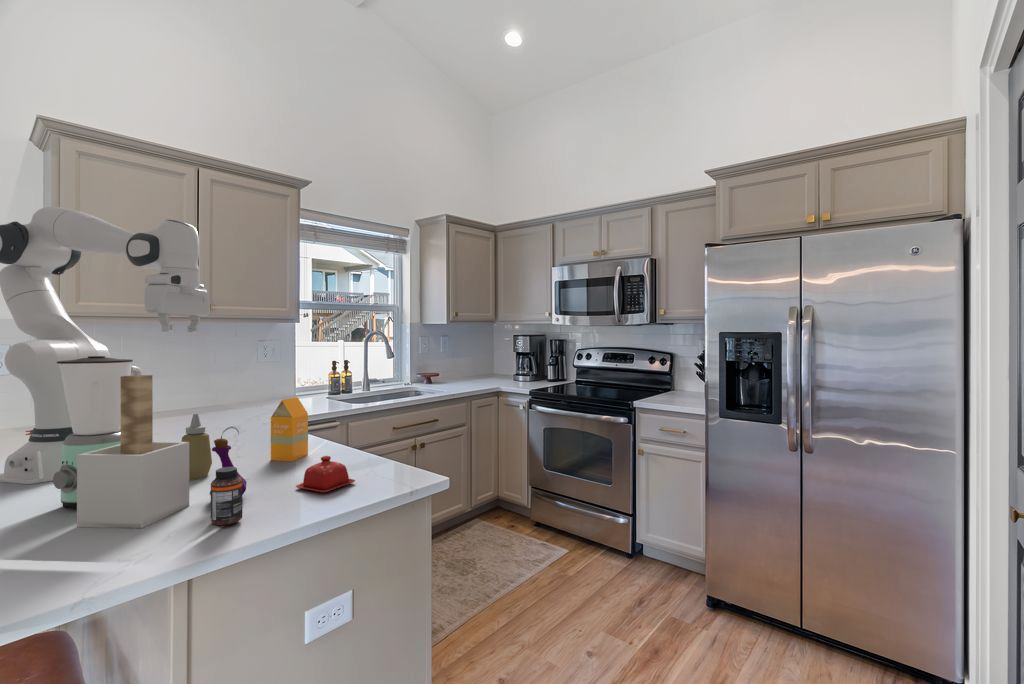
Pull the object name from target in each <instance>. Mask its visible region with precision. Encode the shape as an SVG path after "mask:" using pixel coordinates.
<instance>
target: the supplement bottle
mask: <svg viewBox="0 0 1024 684" xmlns="http://www.w3.org/2000/svg"><path fill="white" fill-rule="evenodd" d="M237 472H238V468H237V467H235V466H234V467H223V468H222V467H220V468H218V469H216V470H215V478H214V479H213V480H212V481H211V482H210V491H211V495H210V523H211V524H212V525H214V526H229V525H232V524H236V523H237V522H239V521H241V520H242V518H243V495H242V479H241V478H240V477H238V475H237Z"/></svg>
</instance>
